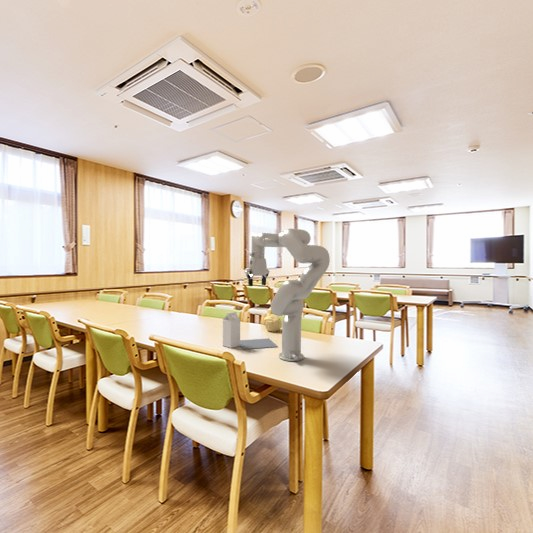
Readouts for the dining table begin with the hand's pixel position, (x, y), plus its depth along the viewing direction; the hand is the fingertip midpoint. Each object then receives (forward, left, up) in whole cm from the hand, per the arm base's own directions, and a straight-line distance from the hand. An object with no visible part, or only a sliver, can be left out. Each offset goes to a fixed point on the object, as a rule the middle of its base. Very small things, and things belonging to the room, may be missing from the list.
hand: (257, 285), depth 175 cm
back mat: (+2, -1, -35) cm, 35 cm away
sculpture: (+32, -20, -35) cm, 51 cm away
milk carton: (+2, +14, -35) cm, 38 cm away
